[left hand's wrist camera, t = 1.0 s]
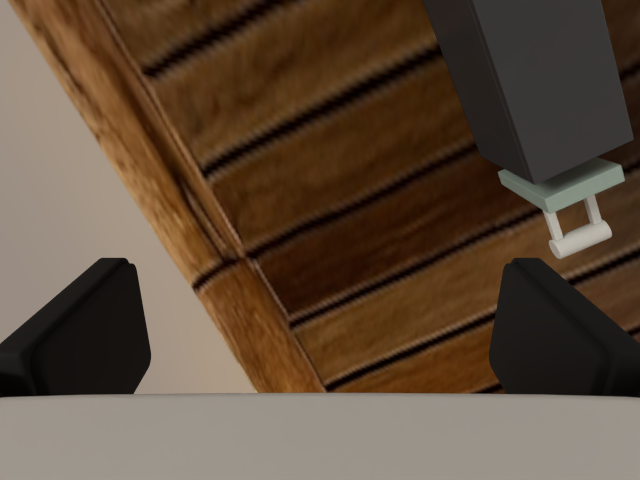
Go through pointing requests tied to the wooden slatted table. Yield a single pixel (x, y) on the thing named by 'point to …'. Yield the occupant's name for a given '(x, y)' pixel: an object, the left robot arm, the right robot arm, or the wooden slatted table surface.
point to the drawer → (570, 201)
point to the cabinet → (534, 81)
